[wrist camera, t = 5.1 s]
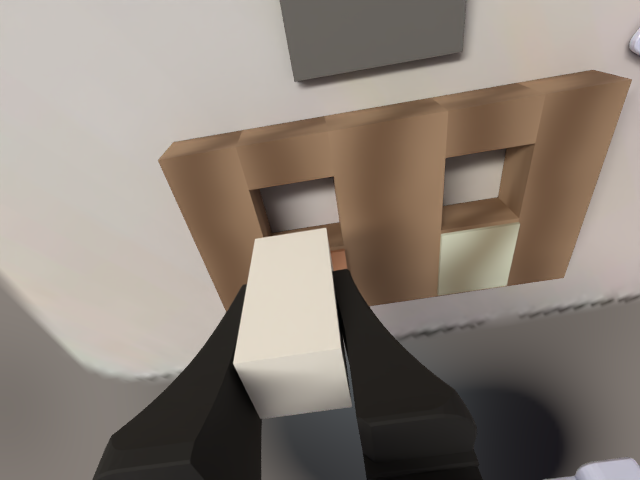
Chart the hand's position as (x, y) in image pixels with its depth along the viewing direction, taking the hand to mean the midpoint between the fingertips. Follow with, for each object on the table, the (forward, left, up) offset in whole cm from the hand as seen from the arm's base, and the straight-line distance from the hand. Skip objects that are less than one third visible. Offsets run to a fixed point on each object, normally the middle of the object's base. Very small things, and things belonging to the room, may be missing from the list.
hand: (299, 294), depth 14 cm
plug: (0, 0, -2) cm, 2 cm away
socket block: (-5, -1, -8) cm, 10 cm away
